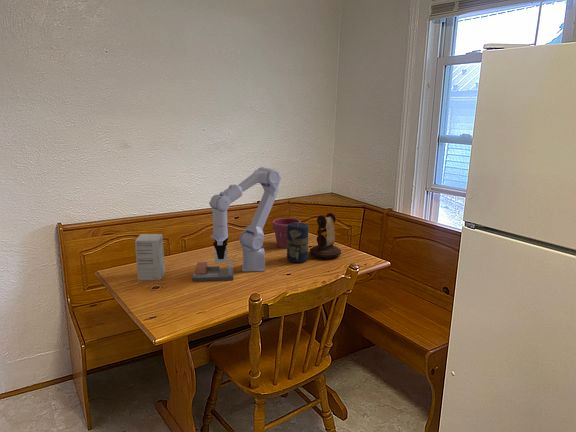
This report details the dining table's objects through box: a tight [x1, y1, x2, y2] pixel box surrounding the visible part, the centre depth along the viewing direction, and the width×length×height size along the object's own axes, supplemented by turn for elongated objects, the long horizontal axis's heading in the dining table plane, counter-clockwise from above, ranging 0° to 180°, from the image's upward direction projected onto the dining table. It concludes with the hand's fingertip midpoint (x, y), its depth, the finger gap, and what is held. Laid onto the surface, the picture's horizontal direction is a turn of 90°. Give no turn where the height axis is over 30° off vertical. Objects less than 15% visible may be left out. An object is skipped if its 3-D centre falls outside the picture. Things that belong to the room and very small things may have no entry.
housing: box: [213, 246, 229, 264], centre depth 182 cm, size 5×4×6 cm
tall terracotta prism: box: [194, 261, 208, 274], centre depth 183 cm, size 4×7×4 cm, turn 5°
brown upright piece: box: [309, 212, 342, 261], centre depth 209 cm, size 15×15×20 cm
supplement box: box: [134, 233, 166, 281], centre depth 182 cm, size 10×9×17 cm
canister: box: [286, 222, 309, 263], centre depth 202 cm, size 10×10×18 cm
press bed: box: [192, 259, 235, 282], centre depth 184 cm, size 16×10×6 cm, turn 95°
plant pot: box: [271, 217, 302, 249], centre depth 224 cm, size 14×14×13 cm
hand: (221, 256), depth 182 cm, fingers closed on housing, 4 cm apart
